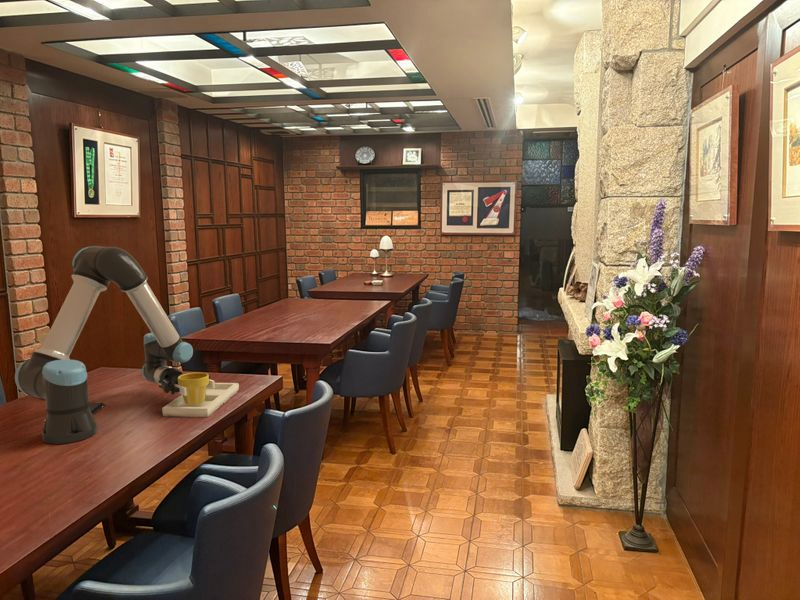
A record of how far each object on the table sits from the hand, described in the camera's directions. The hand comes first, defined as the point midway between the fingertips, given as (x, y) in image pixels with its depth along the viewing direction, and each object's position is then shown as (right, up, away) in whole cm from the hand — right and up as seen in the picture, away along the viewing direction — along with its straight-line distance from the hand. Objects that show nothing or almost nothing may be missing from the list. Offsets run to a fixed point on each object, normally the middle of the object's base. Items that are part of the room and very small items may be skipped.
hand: (200, 388), depth 201 cm
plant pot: (-3, -6, +4) cm, 7 cm away
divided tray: (-3, -7, +11) cm, 13 cm away
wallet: (-44, -10, 0) cm, 45 cm away
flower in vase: (-63, -6, +21) cm, 67 cm away
